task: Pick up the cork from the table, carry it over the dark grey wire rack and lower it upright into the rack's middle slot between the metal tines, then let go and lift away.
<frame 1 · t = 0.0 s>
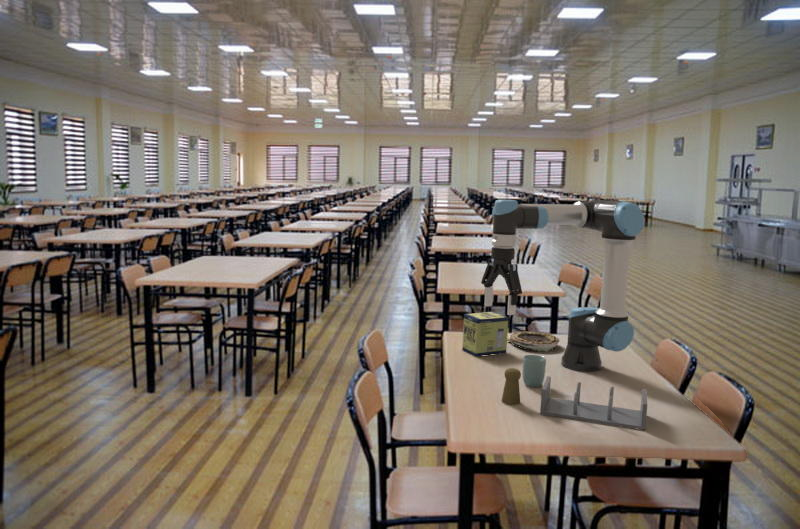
hand: (499, 310, 215), 28 cm above the table, tool pointing down, fingers open, 13 cm apart
cup: (532, 386, 227), on the table
rack: (592, 414, 201), on the table
cork: (510, 402, 210), on the table
pie: (533, 347, 279), on the table
protein box: (484, 352, 267), on the table
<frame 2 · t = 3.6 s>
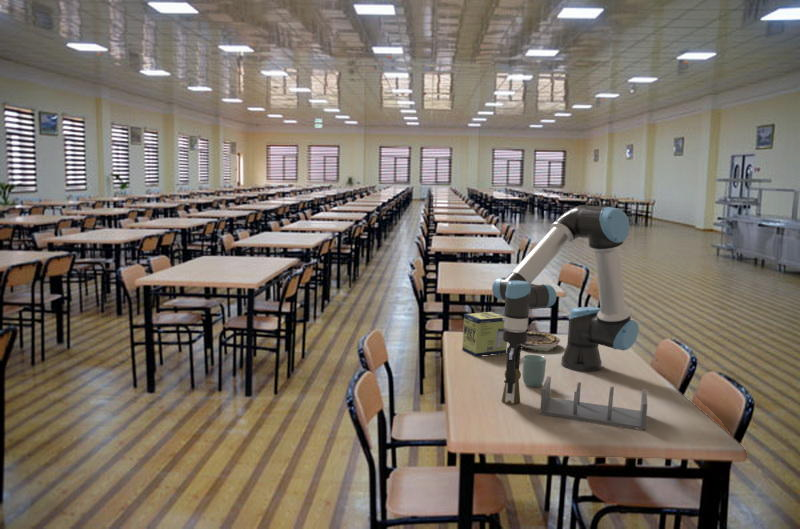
hand: (510, 399, 209), 1 cm above the table, tool pointing down, fingers closed on cork, 4 cm apart
cork: (510, 402, 210), on the table, touching gripper
everything else where it was.
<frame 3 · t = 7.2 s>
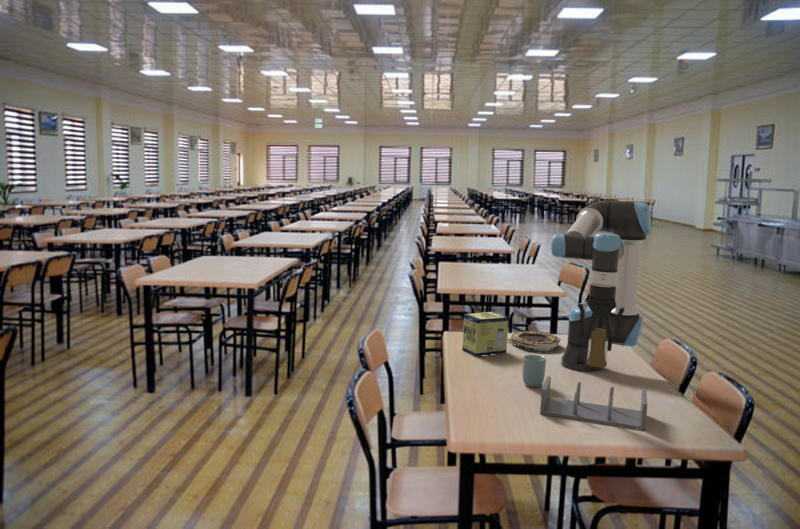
hand: (596, 359, 199), 18 cm above the table, tool pointing down, fingers closed on cork, 4 cm apart
cork: (596, 364, 199), point 16 cm above the table, touching gripper
everything else where it was.
when the fingers open (3 cm above the table, at t = 10.2 s): cork moves 1 cm, resting on rack.
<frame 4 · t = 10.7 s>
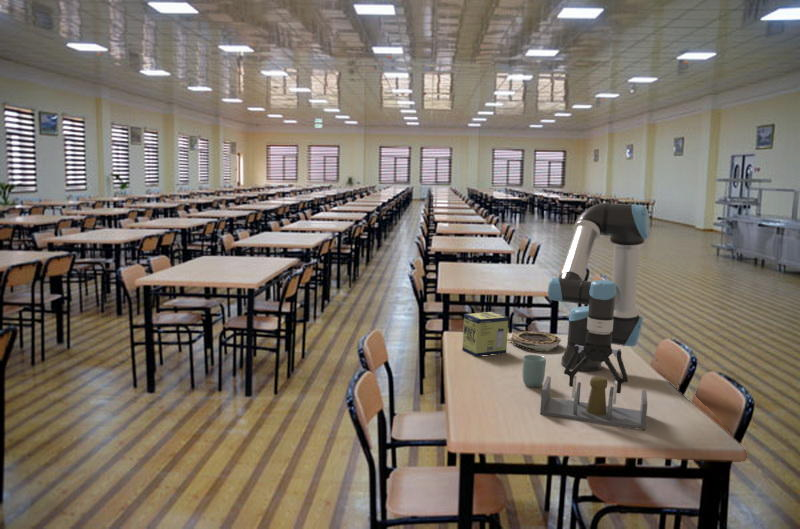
hand: (593, 399, 201), 5 cm above the table, tool pointing down, fingers open, 11 cm apart
cork: (596, 412, 201), point 1 cm above the table, touching rack
everything else where it was.
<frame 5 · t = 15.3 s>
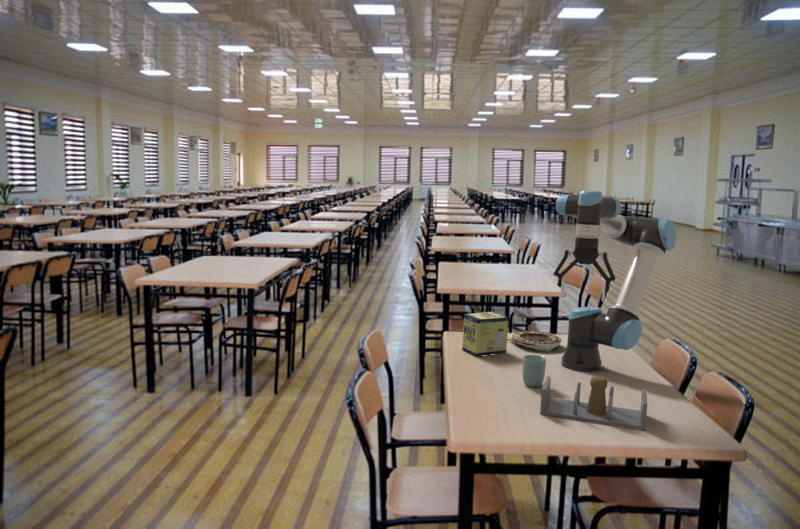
hand: (582, 298, 221), 32 cm above the table, tool pointing down, fingers open, 13 cm apart
at the end: cork 1.1 cm off-centre on the rack, point 0.8 cm above the rack's base; cork tilted 0°; the gripper is holding nothing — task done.
